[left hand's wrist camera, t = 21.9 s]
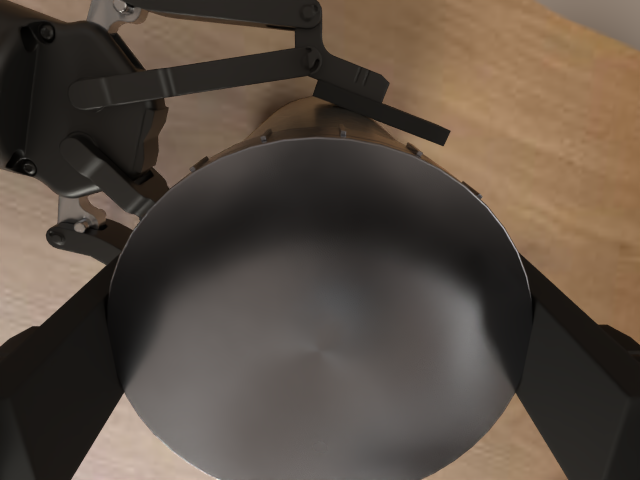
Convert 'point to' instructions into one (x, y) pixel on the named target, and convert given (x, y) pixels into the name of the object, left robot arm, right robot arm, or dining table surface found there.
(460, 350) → the lid
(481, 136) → the dining table surface
